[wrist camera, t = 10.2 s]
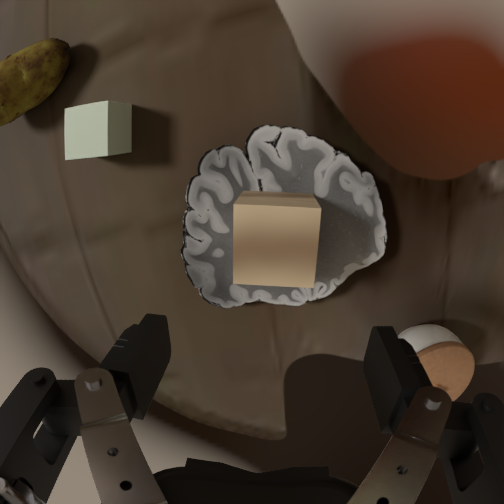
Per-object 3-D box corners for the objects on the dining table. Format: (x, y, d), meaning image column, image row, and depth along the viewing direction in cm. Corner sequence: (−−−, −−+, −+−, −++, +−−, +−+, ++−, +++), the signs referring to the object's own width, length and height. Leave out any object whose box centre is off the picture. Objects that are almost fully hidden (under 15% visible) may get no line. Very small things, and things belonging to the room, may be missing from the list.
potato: (80, 101, 27) (33, 98, 20) (8, 131, 29) (-36, 137, 21) (79, 36, 25) (35, 21, 17) (7, 74, 26) (-36, 71, 18)
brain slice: (336, 99, 26) (343, 95, 24) (390, 258, 31) (399, 269, 28) (152, 177, 30) (141, 181, 28) (222, 317, 35) (217, 332, 32)
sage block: (92, 110, 28) (64, 108, 23) (132, 104, 27) (108, 100, 23) (92, 155, 29) (65, 160, 25) (132, 152, 29) (107, 155, 24)
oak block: (243, 190, 27) (233, 204, 22) (312, 193, 27) (321, 208, 21) (242, 255, 29) (233, 283, 24) (307, 258, 29) (313, 288, 23)
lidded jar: (383, 308, 33) (410, 360, 24) (459, 307, 32) (495, 351, 23) (364, 379, 36) (379, 434, 28) (434, 374, 36) (458, 422, 27)
